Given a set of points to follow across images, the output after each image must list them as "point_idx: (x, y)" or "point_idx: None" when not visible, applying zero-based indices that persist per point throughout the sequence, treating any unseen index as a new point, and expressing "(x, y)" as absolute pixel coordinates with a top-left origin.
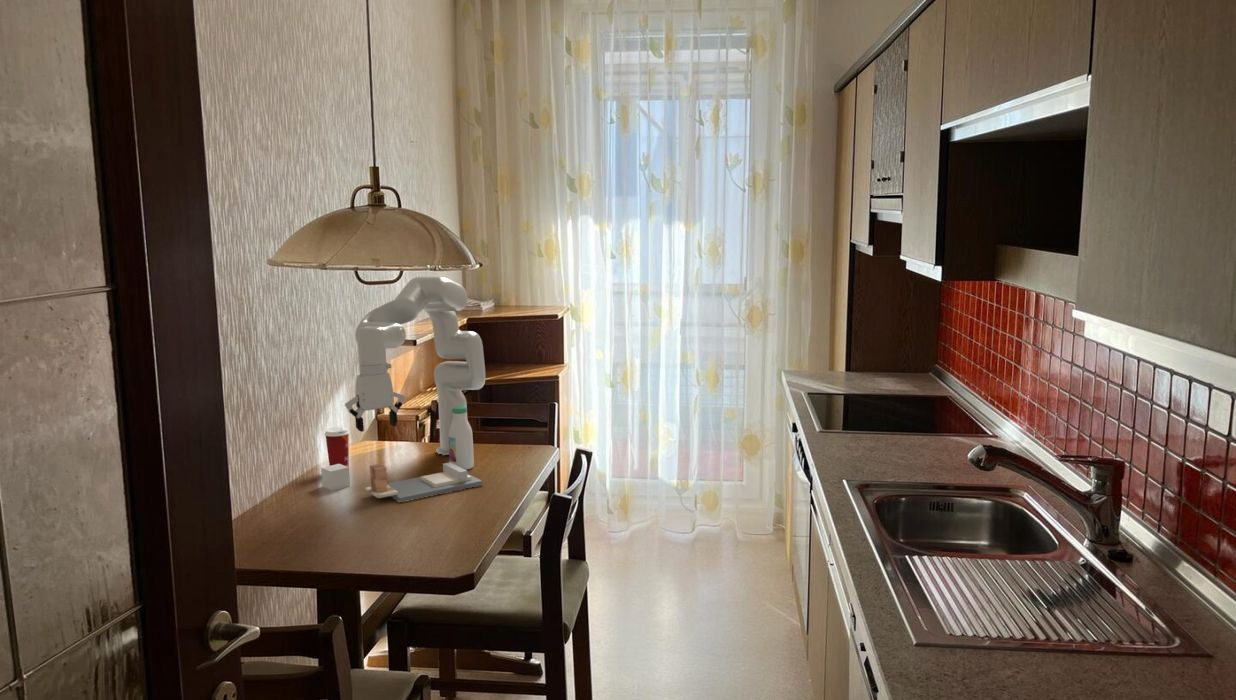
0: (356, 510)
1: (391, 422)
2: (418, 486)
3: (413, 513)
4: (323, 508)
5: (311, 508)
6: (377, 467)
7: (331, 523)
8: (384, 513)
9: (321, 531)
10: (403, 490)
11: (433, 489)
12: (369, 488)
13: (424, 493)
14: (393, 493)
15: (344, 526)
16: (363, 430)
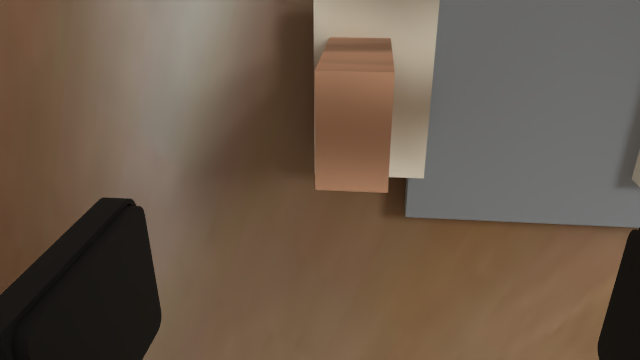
0: (210, 172)
1: (633, 313)
2: (581, 106)
3: (385, 340)
4: (83, 46)
5: (30, 6)
6: (340, 156)
7: None
8: (295, 276)
9: None
10: (479, 121)
11: (602, 204)
12: (324, 23)
13: (534, 221)
14: (397, 175)
15: None
16: (155, 327)
